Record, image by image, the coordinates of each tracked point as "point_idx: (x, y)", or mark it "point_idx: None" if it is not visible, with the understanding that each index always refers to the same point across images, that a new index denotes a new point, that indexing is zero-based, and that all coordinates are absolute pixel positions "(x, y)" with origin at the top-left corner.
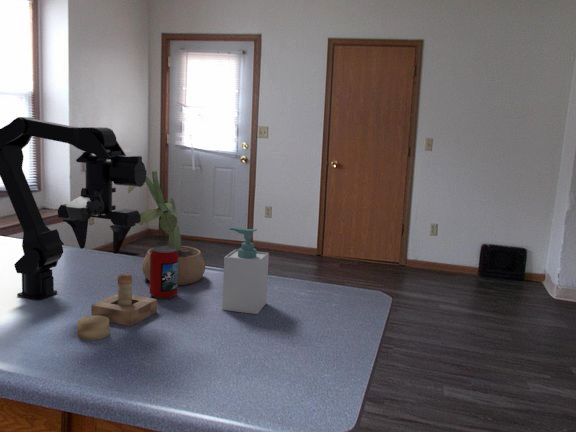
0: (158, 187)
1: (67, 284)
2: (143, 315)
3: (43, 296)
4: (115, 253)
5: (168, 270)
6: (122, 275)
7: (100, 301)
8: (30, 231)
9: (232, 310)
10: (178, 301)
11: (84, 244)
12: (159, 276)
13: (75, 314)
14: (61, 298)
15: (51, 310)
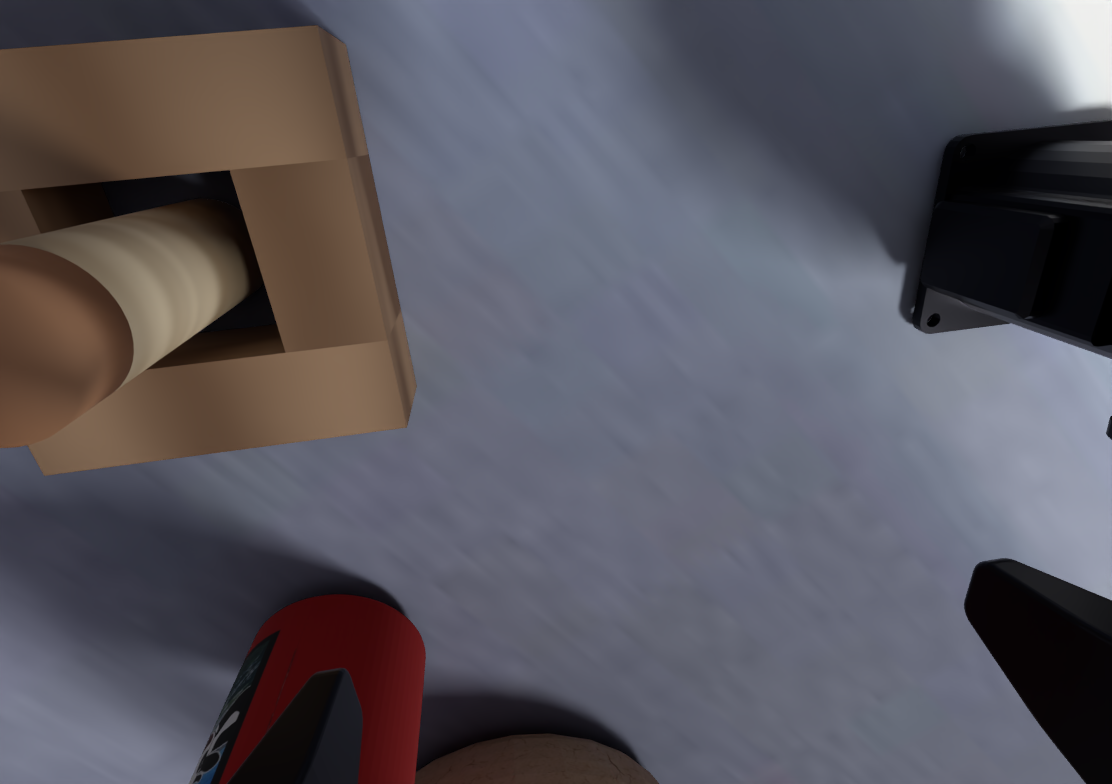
0: None
1: (944, 475)
2: None
3: (944, 192)
4: (317, 677)
5: None
6: (17, 360)
7: (341, 165)
8: None
9: None
10: (190, 625)
11: (1007, 657)
12: (251, 725)
13: (517, 49)
14: (829, 268)
15: (733, 16)
